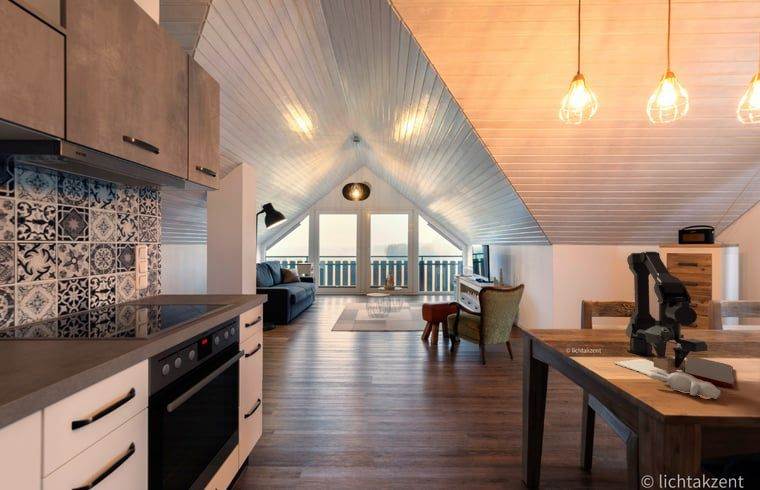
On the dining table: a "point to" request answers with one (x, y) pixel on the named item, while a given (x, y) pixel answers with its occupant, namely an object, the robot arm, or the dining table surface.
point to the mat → (643, 366)
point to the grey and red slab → (709, 371)
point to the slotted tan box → (667, 363)
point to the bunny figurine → (687, 383)
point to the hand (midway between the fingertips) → (669, 365)
